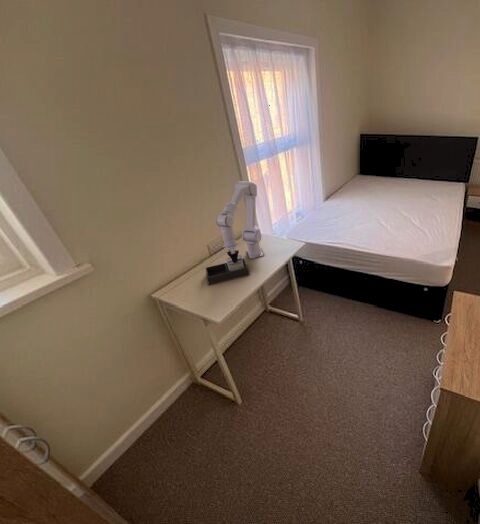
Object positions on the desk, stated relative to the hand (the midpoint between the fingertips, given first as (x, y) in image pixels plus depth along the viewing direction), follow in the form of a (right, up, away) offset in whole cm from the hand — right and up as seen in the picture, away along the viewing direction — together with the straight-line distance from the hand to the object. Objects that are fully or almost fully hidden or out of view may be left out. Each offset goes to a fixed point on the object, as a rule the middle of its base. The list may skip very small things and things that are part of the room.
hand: (234, 258), depth 152 cm
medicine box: (0, -7, +4) cm, 8 cm away
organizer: (-4, -9, +3) cm, 10 cm away
